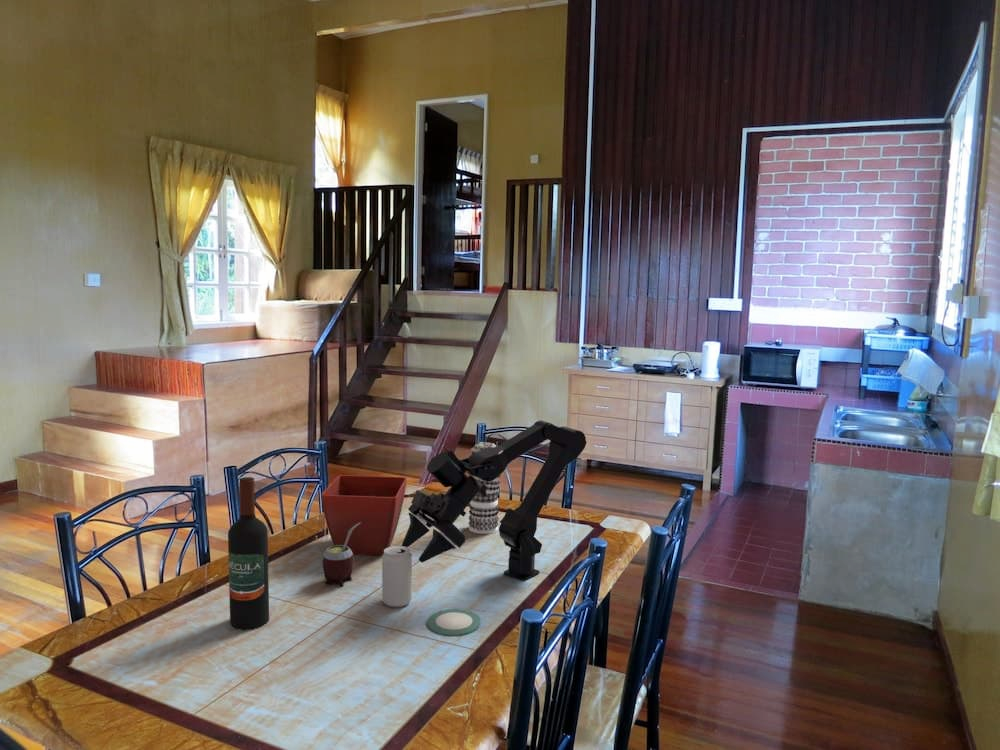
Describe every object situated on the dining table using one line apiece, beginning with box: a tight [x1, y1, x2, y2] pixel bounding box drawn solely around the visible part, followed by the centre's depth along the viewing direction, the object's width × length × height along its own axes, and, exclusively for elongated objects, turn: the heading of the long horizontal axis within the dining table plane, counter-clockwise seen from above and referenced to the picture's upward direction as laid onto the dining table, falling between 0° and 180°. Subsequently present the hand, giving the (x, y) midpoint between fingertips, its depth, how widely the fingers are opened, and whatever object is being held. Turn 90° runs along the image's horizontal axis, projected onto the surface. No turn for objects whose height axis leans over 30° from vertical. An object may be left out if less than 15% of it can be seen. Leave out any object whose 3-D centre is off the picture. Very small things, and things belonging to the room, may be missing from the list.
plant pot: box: [320, 474, 407, 556], centre depth 189 cm, size 19×19×17 cm
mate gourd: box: [322, 522, 361, 588], centre depth 167 cm, size 8×8×15 cm
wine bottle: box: [227, 476, 270, 631], centre depth 145 cm, size 8×8×30 cm
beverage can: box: [381, 545, 413, 608], centre depth 157 cm, size 6×6×12 cm
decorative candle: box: [468, 441, 501, 535], centre depth 205 cm, size 9×9×25 cm
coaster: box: [426, 608, 482, 637], centre depth 148 cm, size 11×11×1 cm
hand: (411, 554), depth 158 cm, fingers open, 9 cm apart
